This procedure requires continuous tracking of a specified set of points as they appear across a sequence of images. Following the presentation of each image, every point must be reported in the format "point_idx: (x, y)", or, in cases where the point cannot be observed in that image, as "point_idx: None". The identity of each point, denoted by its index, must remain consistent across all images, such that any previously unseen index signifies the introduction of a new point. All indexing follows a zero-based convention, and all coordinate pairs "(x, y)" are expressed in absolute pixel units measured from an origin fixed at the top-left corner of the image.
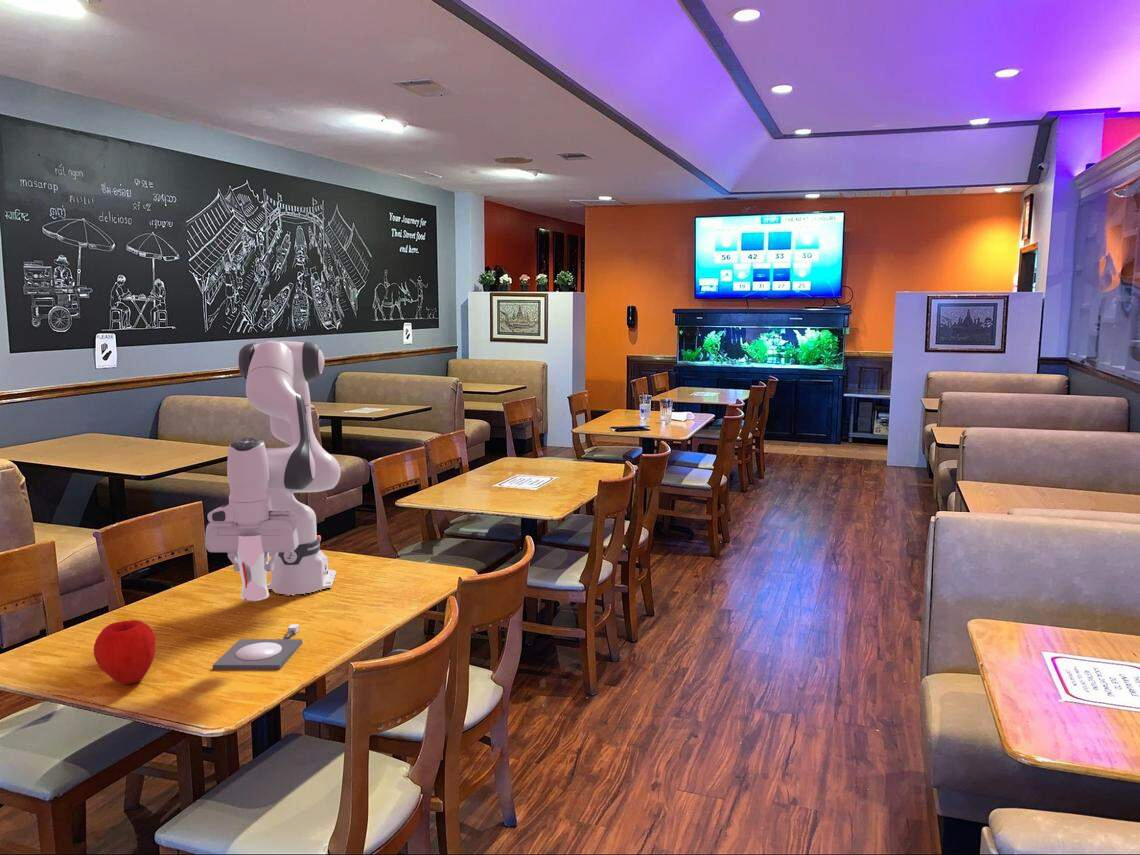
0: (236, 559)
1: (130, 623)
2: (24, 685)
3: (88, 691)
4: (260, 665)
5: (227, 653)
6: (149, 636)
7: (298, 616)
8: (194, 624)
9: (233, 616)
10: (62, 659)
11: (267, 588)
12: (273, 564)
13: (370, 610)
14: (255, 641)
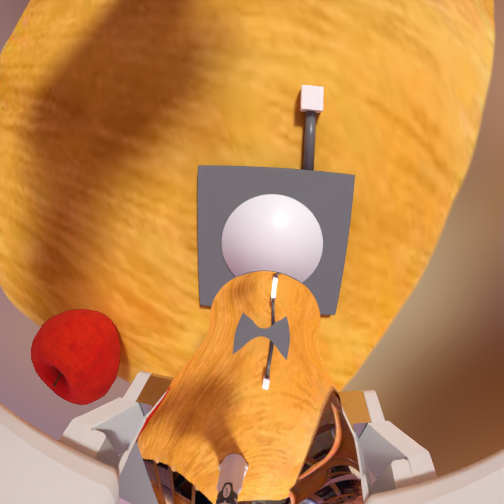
0: (125, 423)
1: (49, 363)
2: (22, 311)
3: None
4: None
5: (204, 251)
6: (98, 383)
7: (285, 10)
8: (79, 79)
9: (136, 25)
10: (4, 240)
11: (318, 333)
12: (378, 413)
13: (430, 15)
14: (241, 181)
